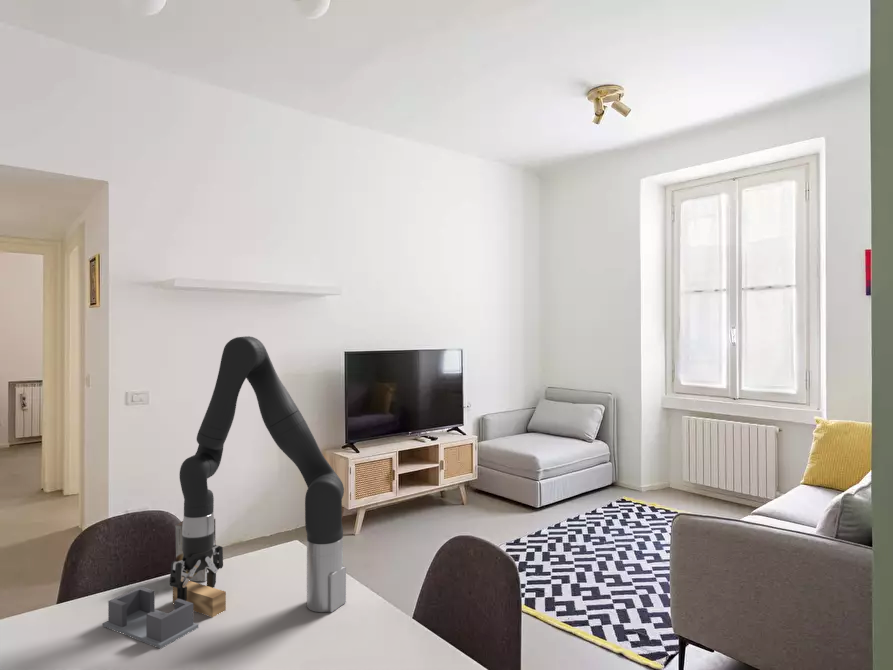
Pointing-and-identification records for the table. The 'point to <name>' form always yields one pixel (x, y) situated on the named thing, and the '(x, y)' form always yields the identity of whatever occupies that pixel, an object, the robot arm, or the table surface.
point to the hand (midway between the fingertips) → (197, 593)
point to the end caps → (149, 618)
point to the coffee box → (179, 554)
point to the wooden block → (204, 598)
